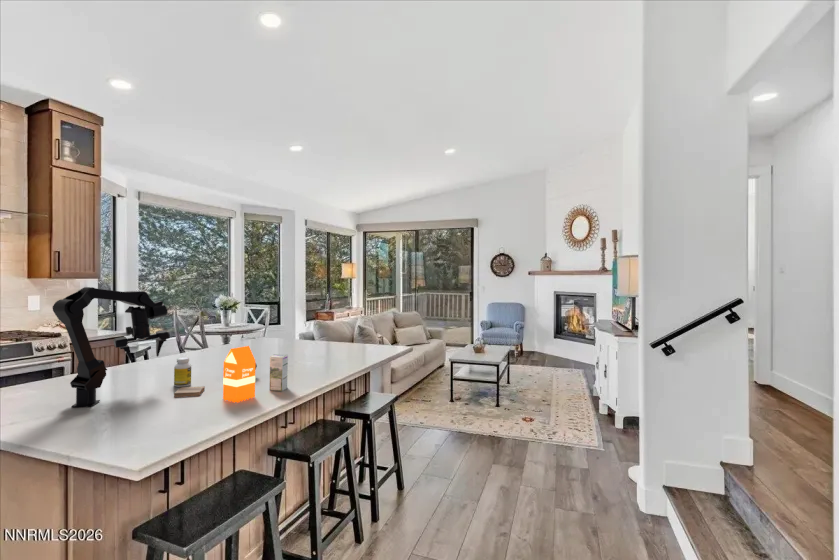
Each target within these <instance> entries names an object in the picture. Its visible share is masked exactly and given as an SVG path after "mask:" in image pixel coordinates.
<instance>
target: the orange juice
mask: <svg viewBox="0 0 839 560" xmlns="http://www.w3.org/2000/svg"><path fill="white" fill-rule="evenodd" d="M253 354H254V353H253V352H252V350H251V348H250V345H246V346H240V347H239V346H238V347H235V348H230V350H229V351H228V353H227V355H226V357H225V359H224V361H223V375H222V376H223V379H222V382H223V383H222V384H223V387H222V390H223V391H222V393H223V394H222V400H223V399H224V401H226V400H228V402H231V401H232V403H235V402H237V403H241V402H244V401H246V399H247V400H249V398H251V399H254V398H255V397H256V370H255V362H256V359H255V357H254V355H253ZM253 397H254V398H253ZM243 400H244V401H243ZM240 401H241V402H240Z"/></svg>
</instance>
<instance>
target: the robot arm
mask: <svg viewBox="0 0 839 560" xmlns="http://www.w3.org/2000/svg"><path fill="white" fill-rule="evenodd" d="M94 299H98V300H99V299H100V300H107V301H116V302H120V303H123V304H125V305H126V304H127V305H130V306H128V308H126V309H125V311H124V312H125V313H126V314H127V313H128V314H130V315H131V317H130V318H131V324H132V326H127V327H126V326H125V333H126V336H129V335H131V337H129V338H127V337H126V336H121V337H114V339H113V345H114V347H115V348H117V349H118V348H119V349H120V350H124V351H123V352H125V354H126V355H127V357H128V360H129V362H133V358H132V352H131V350H130V346H129V344H131V343H136V342H141V341H143V342H144V341H148V340H149V341H150V340H153V339H154V340H155V353H156V357H159V356H160V353H161V350H162V346H163V344H164V343H165V342H167V340H168V339H170V338H171V336H170V332H168V331H167V330H165V329H164V330H159V331H155V333H152V334H151V330H150V320H154V319H158V318H162V317H166V316H167V314H168V308H167V307H166V305H165V304H164V303H163V301H162V300H158V301H155V302H154V301H153V299H151V297H149V293H148V292H146V291H140V290H128V291H127V290H124V291H119V290H111V289H110V290H109V289H104V288H96V287H92V286H91V287H90V286H89V287H88V286H84V287H82V288H81V289H79V290H78V291H76V292H74V293H71V294H70V295H67V296H66V297H64V298H63V299H62V298H61V299H58V300H56V301H55V302H54V304H53V305H52V311H53V313H54V314H55V316H56V318H57V319H58V320H59V321H60V322H61V324H63V325H64V326H65V329H66V331H67V333H68V336H69V339H70V341H71V345H72V348H73V350H74V353H75V355H76V358H77V360H78V364H77V367H76V371H77V375H76V376H75V377H74V378H73V379H72V380H70V383H69V384H70V386H71V388H73V389H75V403H74V404H72V405H71V408H83V407H84V408H85V407H86V406H88V407H93V405H94V406H95V405H97V404H98V403H100V402H101V399H97V389H98V388H100V389H101V387H102V385H103V382H104V379H105V378H106V376H107V371H108V369H107V367H106V366H105V364H106V363H105V361H104V359H103V360H102V359H97V358H96V357H95V354H94V351H93V348H92V345H91V343H90V340H89V338H88V335H87V332H86V329H85V326H84V324H83V319H84V316H85V313H84V309H85V308H86V307H88V306H89V305H90V304H91V302H92V301H93V300H94ZM134 306H136V307H134ZM99 401H100V402H99ZM96 403H97V404H96Z"/></svg>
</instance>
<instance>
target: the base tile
mask: <svg viewBox="0 0 839 560" xmlns="http://www.w3.org/2000/svg"><path fill="white" fill-rule="evenodd" d="M204 391H205V386H204V385H202V386H185V387H178V389H177V390H176V391H175V392H174V393H173V397H174V398H182V397H183V396H188V397H200V396H201V395H202V394H203V392H204ZM200 394H201V395H200ZM183 398H184V397H183Z"/></svg>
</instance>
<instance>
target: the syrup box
mask: <svg viewBox="0 0 839 560" xmlns="http://www.w3.org/2000/svg"><path fill="white" fill-rule="evenodd" d="M288 361H289V355H288V354H280V353H279V354H272V355H270V357H269V391H273V392H274V391H275V392H282V391H285V390H286V389H288V371H289V370H288V365H289V363H288ZM284 389H285V390H284Z"/></svg>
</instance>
